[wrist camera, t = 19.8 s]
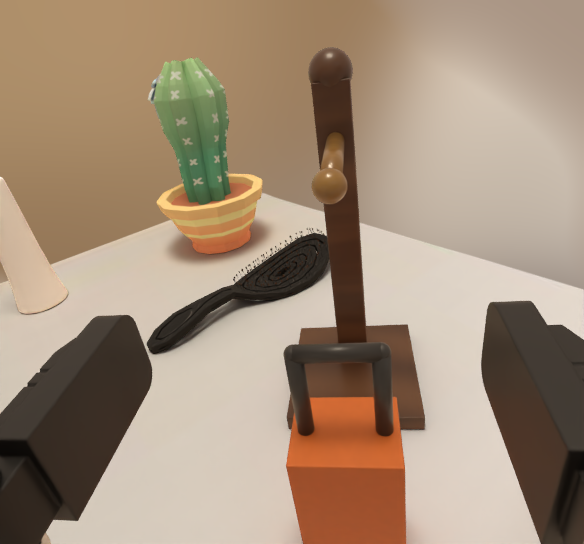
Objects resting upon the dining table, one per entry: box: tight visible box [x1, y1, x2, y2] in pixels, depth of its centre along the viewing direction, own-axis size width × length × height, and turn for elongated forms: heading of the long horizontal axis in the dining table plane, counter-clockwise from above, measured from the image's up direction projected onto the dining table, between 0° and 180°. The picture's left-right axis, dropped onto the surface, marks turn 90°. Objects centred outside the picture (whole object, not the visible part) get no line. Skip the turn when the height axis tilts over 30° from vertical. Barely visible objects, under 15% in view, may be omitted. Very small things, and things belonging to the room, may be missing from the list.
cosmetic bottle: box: [0, 177, 68, 314], centre depth 51 cm, size 6×6×22 cm
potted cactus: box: [148, 58, 262, 254], centre depth 60 cm, size 15×15×25 cm
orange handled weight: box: [284, 342, 406, 544], centre depth 21 cm, size 4×5×15 cm
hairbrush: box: [147, 228, 329, 354], centre depth 49 cm, size 8×4×25 cm
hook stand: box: [287, 47, 425, 429], centre depth 29 cm, size 14×10×25 cm
